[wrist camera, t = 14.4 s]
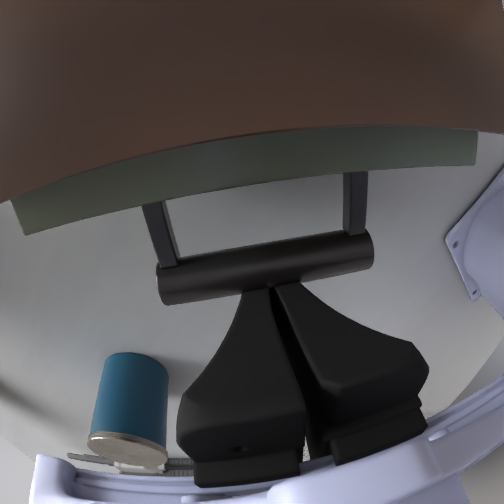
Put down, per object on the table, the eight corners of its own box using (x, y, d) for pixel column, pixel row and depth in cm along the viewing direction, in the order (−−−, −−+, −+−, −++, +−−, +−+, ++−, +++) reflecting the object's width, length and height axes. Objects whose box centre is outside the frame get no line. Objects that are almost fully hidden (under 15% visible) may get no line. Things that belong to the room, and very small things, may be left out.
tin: (183, 371, 19) (183, 456, 13) (150, 397, 20) (145, 470, 15) (119, 340, 17) (101, 431, 11) (93, 372, 18) (78, 448, 13)
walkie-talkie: (210, 451, 28) (64, 443, 26) (213, 484, 24) (60, 470, 22) (221, 469, 32) (94, 465, 31) (224, 496, 29) (92, 488, 27)
